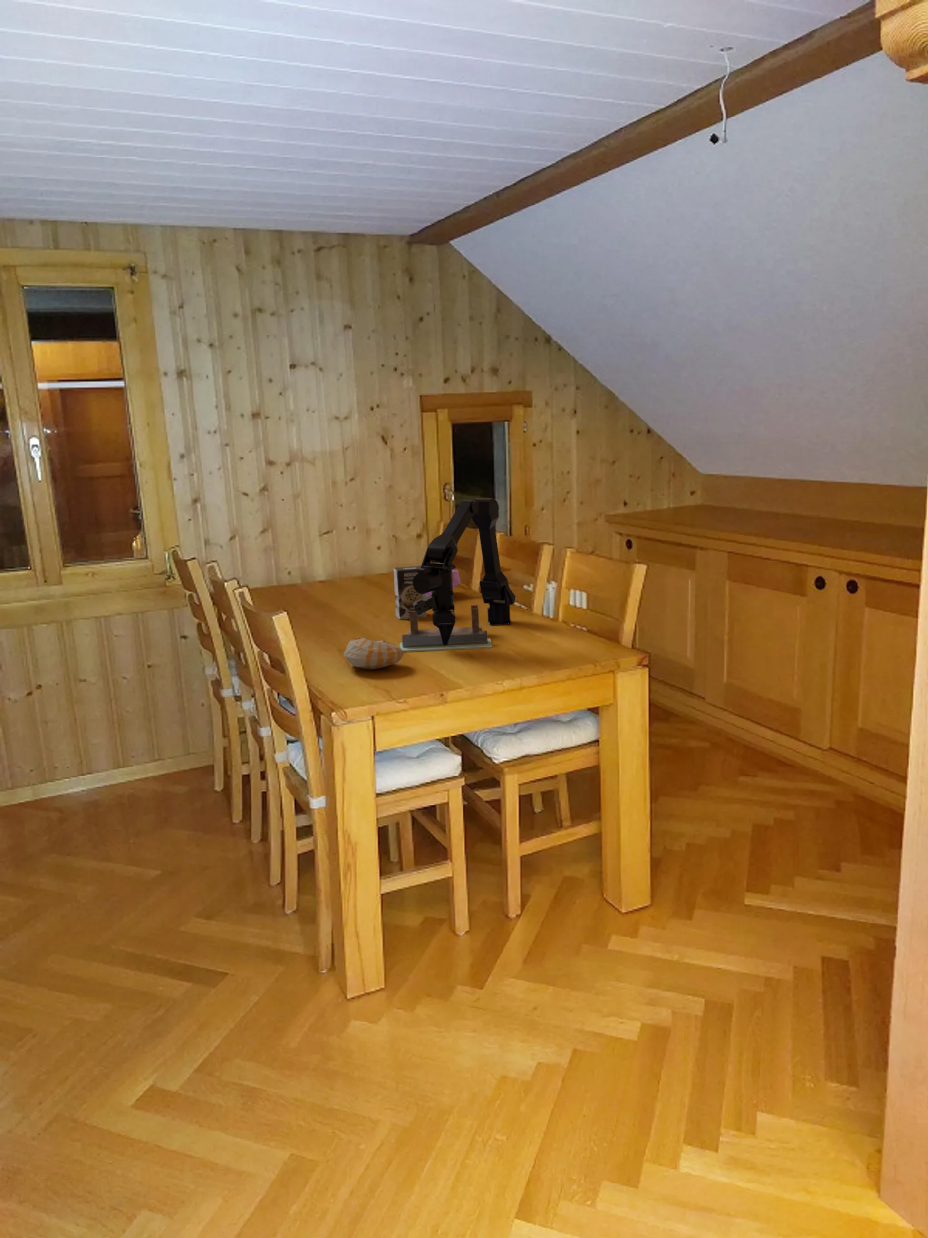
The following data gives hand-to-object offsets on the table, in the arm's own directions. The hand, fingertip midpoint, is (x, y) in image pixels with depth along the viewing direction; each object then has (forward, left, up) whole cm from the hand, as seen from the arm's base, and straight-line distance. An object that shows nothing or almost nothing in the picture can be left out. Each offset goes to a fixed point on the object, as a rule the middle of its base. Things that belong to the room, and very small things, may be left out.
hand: (445, 640), depth 265 cm
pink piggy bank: (+3, -67, -2) cm, 67 cm away
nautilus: (+20, +16, -2) cm, 26 cm away
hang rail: (0, 0, -1) cm, 1 cm away
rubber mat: (0, 0, -2) cm, 2 cm away
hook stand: (0, -11, -2) cm, 11 cm away
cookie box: (+11, -39, -2) cm, 41 cm away
